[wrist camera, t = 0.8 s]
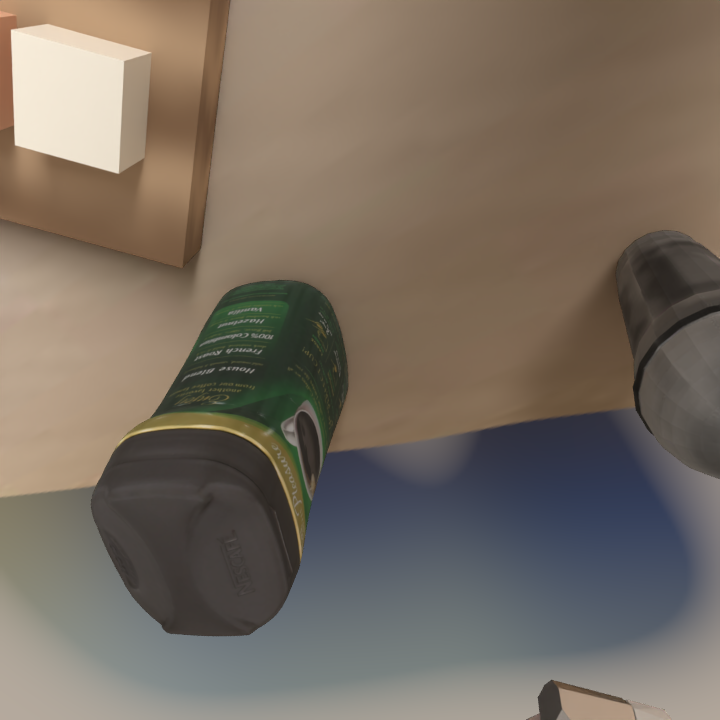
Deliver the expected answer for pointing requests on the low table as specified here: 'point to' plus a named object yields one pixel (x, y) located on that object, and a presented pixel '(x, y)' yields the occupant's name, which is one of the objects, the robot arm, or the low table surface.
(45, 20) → the board
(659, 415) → the beverage cup
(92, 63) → the tile
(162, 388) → the low table surface
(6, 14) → the tile
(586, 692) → the robot arm
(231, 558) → the coffee jar
